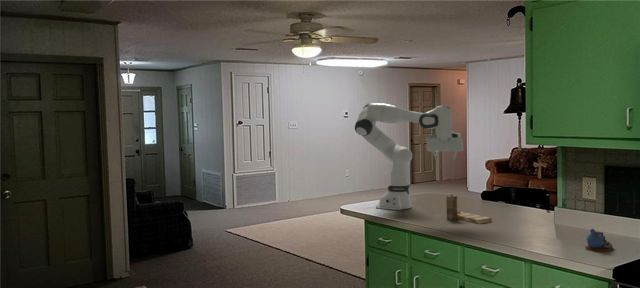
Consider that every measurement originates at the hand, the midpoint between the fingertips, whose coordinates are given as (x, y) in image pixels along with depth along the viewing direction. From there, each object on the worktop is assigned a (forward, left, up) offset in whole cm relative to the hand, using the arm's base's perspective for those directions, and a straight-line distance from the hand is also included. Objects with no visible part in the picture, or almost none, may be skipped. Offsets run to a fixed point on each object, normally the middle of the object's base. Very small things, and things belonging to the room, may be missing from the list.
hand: (445, 159), depth 296 cm
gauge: (+5, -2, -33) cm, 33 cm away
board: (+13, -1, -33) cm, 35 cm away
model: (+70, -52, -34) cm, 93 cm away
